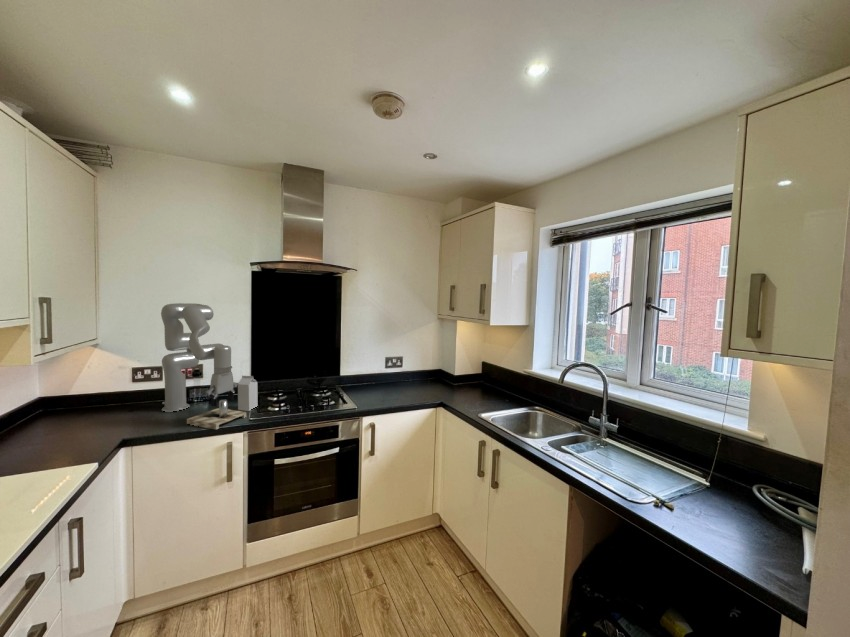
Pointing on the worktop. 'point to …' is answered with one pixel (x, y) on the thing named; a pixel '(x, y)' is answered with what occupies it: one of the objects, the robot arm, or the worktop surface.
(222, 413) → the peg
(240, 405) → the milk carton
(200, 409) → the worktop surface
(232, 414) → the keyhole plate
